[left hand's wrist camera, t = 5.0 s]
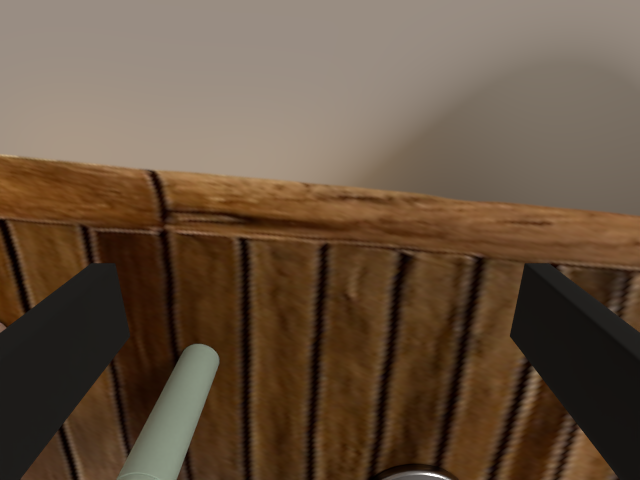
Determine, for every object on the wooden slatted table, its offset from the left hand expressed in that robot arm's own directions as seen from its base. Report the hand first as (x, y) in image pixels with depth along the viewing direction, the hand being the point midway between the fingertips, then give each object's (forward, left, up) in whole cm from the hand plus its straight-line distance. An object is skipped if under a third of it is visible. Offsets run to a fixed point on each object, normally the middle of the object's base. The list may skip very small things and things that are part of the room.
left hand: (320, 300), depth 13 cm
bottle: (-24, +15, -28) cm, 40 cm away
